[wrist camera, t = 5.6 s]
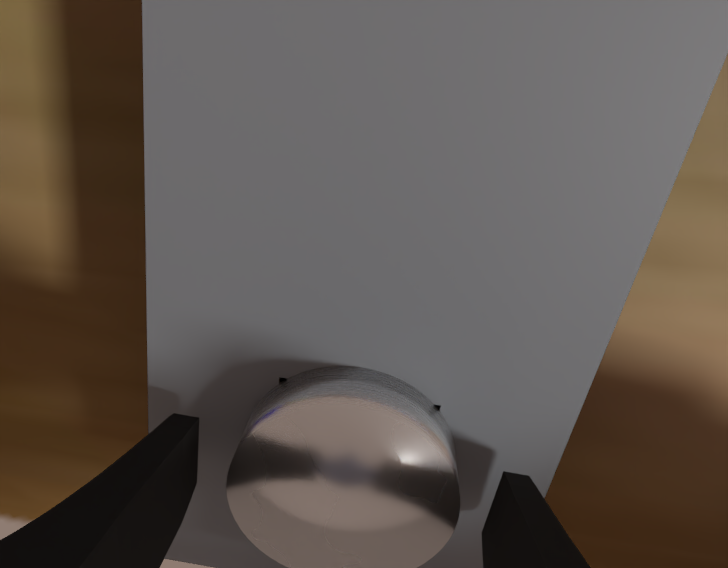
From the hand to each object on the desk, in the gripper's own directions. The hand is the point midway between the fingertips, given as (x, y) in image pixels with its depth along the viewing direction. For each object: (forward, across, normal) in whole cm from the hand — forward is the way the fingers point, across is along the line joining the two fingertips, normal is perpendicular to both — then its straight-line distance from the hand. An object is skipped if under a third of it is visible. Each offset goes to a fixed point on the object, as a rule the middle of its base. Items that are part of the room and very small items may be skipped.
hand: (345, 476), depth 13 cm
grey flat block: (+5, 0, -4) cm, 6 cm away
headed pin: (+4, 0, 0) cm, 4 cm away
